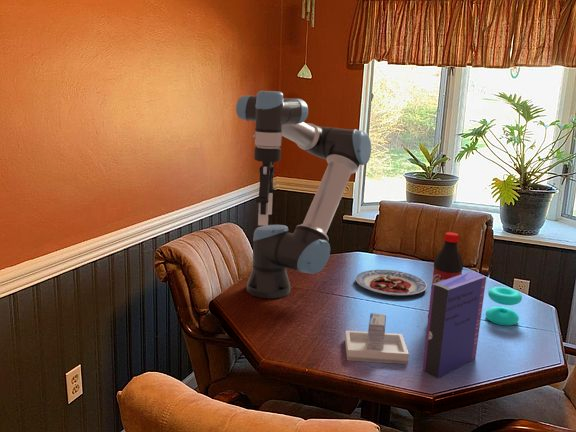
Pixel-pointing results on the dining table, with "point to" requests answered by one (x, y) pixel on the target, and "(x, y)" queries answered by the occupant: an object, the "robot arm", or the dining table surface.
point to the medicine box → (376, 332)
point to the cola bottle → (448, 260)
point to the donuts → (502, 313)
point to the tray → (391, 353)
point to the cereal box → (453, 323)
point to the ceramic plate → (391, 282)
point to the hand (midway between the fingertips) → (265, 219)
